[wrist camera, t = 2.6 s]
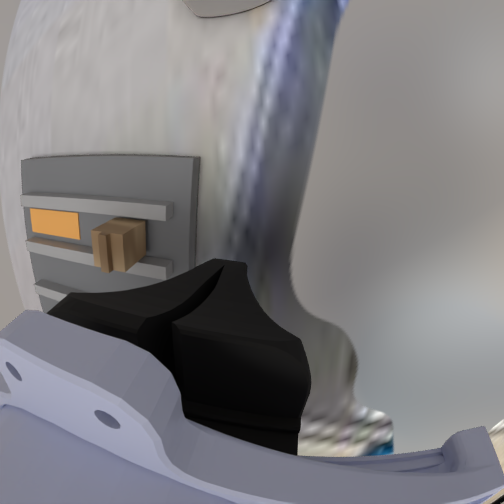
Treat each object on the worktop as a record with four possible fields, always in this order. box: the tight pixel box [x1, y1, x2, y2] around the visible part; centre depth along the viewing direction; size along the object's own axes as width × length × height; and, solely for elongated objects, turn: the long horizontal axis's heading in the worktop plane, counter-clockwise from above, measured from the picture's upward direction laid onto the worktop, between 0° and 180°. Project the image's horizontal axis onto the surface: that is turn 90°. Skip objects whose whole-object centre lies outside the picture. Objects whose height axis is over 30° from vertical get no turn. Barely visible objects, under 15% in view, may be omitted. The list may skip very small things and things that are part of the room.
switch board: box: [20, 154, 200, 313], centre depth 18 cm, size 16×14×2 cm
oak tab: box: [91, 217, 146, 273], centre depth 14 cm, size 2×2×3 cm
